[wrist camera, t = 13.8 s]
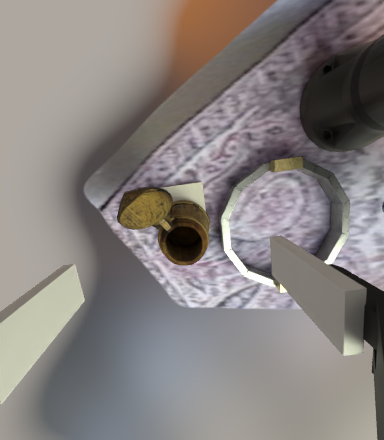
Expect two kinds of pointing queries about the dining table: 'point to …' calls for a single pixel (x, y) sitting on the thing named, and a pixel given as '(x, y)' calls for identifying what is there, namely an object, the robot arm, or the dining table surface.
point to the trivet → (188, 193)
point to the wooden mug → (167, 222)
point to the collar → (330, 187)
